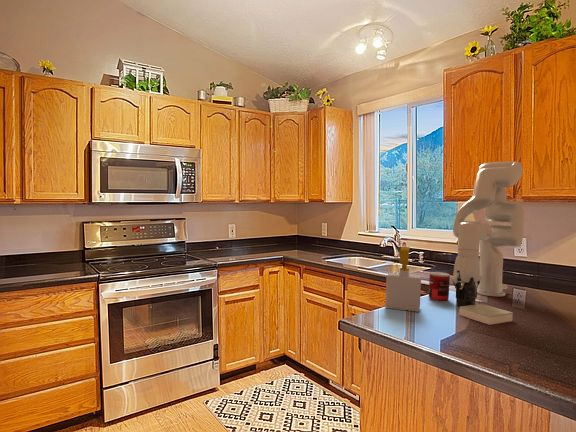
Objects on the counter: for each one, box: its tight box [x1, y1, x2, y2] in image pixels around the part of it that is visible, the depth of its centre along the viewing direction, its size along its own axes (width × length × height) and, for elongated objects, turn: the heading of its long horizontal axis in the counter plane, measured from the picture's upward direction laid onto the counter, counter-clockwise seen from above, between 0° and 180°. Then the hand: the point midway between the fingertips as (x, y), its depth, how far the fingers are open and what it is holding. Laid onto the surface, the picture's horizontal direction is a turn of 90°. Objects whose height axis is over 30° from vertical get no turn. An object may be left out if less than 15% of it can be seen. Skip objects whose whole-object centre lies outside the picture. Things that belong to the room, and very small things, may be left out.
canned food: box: [428, 271, 451, 302], centre depth 162 cm, size 8×8×11 cm
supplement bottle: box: [456, 277, 477, 308], centre depth 152 cm, size 7×7×12 cm
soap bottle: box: [385, 246, 422, 313], centre depth 145 cm, size 12×7×23 cm, turn 68°
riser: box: [458, 303, 514, 325], centre depth 136 cm, size 12×12×3 cm
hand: (466, 297), depth 152 cm, fingers closed on supplement bottle, 6 cm apart
